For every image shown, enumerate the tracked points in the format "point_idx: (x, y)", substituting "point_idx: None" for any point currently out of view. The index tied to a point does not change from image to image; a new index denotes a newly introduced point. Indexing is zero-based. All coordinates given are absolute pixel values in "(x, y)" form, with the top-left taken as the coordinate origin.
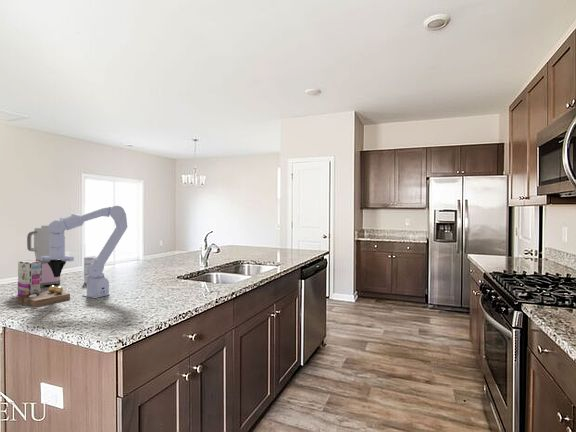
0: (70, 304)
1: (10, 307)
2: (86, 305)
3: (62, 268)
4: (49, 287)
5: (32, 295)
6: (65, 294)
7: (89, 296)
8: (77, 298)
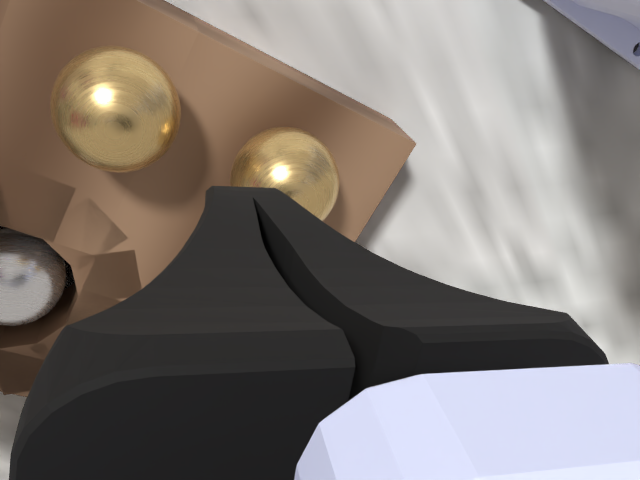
0: (485, 294)
1: (4, 445)
2: (620, 301)
3: (378, 260)
4: (98, 166)
5: (25, 319)
6: (380, 185)
7: (588, 32)
8: (457, 72)
